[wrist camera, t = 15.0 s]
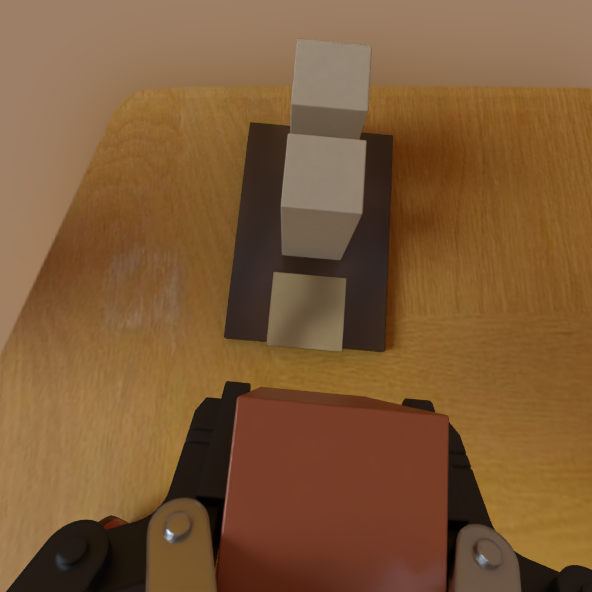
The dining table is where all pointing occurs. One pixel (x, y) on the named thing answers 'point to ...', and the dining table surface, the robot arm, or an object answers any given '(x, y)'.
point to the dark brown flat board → (308, 260)
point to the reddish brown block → (334, 496)
